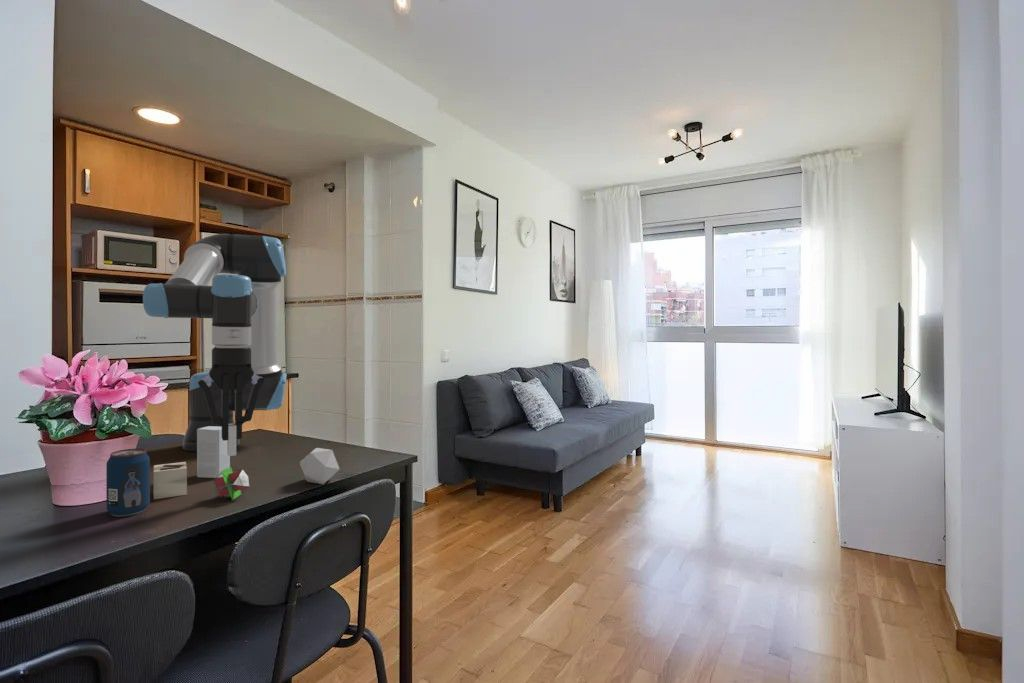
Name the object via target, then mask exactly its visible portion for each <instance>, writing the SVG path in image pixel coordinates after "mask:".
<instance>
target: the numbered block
mask: <svg viewBox="0 0 1024 683" xmlns="http://www.w3.org/2000/svg"><path fill="white" fill-rule="evenodd" d="M187 480H188V468H187V461H181V462H173V463H163V464H155V465H153V500H160V499H165V498H172V497H173V498H174V497H179V496H180V497H181V496H186V495H188V481H187Z"/></svg>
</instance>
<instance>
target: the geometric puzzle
mask: <svg viewBox="0 0 1024 683" xmlns="http://www.w3.org/2000/svg"><path fill="white" fill-rule="evenodd" d="M233 468H234V470H235V471H234V470H233ZM236 470H237V471H236ZM221 473H222V476H223V477H220V475H221ZM221 473H219V474H220V475H219V474H218V475H219V477H220V478H212V479H213V483H214V485H215V488H216V490H213V492H214V493H216V492H217V493H218V495H219V497H220V498H223V499H224V498H226V496H229V497H230V498H231V499H230V498H228V499H229V501H234V500H235V499H236V498H238V497H240V496H241V495H243V493H244V491H246V490H247V489H248V488H249V487H251V486H250V480H249V474H247V473H246V471H245V470H244V469H243V468H239V467H238V469H237V468H236V467H234V466H231V465H230V467H229V468H227V469H225V470H223V471H221Z"/></svg>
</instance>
